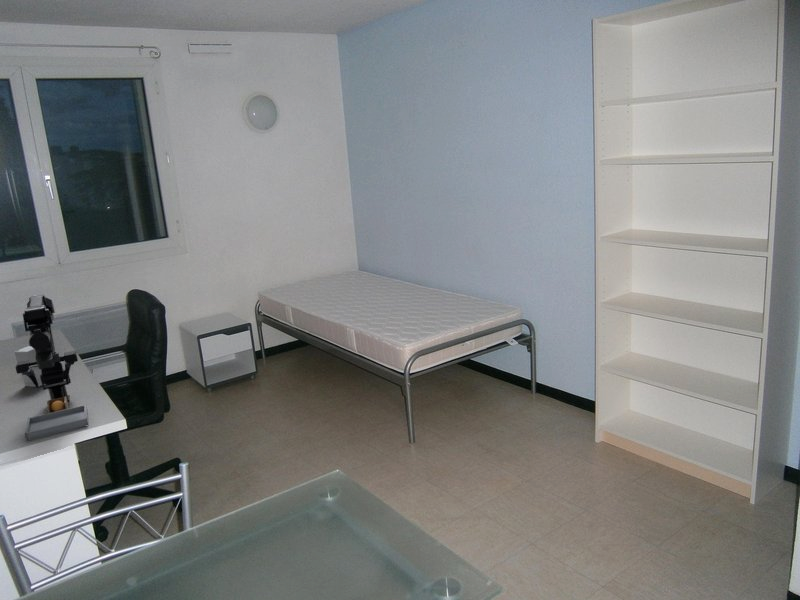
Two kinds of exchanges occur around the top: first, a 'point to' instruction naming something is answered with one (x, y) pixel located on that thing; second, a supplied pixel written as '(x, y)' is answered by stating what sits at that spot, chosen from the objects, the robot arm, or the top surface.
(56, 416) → the tray
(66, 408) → the scoop
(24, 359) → the skincare box
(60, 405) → the ball
